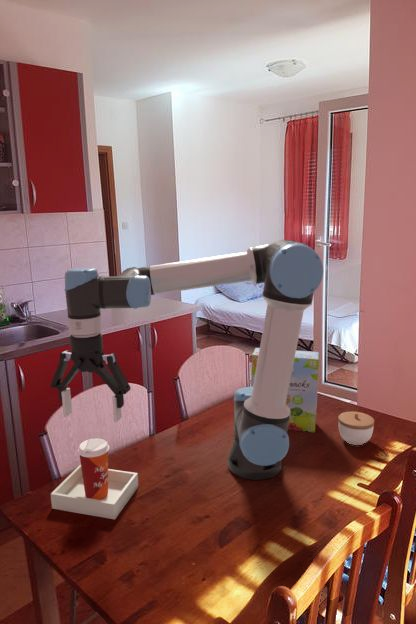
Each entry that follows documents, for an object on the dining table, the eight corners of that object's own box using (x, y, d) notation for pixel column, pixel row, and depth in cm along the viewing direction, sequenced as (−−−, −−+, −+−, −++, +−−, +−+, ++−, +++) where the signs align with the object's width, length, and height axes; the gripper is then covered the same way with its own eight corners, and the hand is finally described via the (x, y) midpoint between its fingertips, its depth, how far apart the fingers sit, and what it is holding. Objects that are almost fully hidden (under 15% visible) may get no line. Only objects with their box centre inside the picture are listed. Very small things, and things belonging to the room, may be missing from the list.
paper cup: (104, 505, 118) (101, 453, 115) (75, 501, 119) (71, 450, 116) (116, 487, 125) (114, 438, 122) (89, 484, 127) (86, 435, 124)
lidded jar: (377, 449, 145) (379, 421, 143) (341, 449, 145) (343, 421, 143) (366, 433, 155) (368, 406, 153) (333, 433, 155) (335, 406, 153)
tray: (138, 486, 127) (137, 473, 126) (114, 519, 114) (113, 504, 113) (81, 477, 131) (80, 464, 130) (51, 508, 118) (50, 493, 117)
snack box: (249, 428, 160) (250, 354, 154) (253, 417, 168) (253, 346, 163) (316, 434, 155) (319, 358, 150) (316, 422, 164) (319, 350, 158)
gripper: (30, 335, 113) (39, 418, 117) (127, 340, 106) (133, 428, 111) (48, 327, 120) (56, 406, 125) (140, 331, 113) (145, 415, 118)
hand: (92, 417), depth 118 cm, fingers open, 13 cm apart
